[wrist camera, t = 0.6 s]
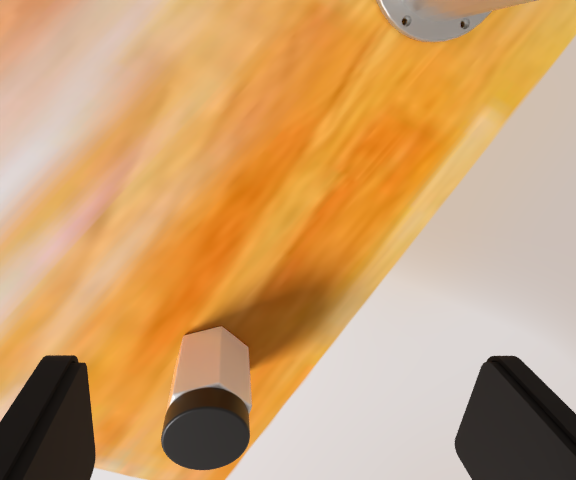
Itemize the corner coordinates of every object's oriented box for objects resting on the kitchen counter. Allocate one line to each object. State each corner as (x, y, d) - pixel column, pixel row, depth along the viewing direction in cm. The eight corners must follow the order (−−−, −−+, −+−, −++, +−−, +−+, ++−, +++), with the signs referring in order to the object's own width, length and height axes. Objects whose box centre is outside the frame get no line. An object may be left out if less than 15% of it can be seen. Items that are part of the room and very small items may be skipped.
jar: (186, 389, 49) (172, 481, 38) (164, 338, 46) (143, 422, 35) (256, 371, 49) (263, 457, 38) (240, 319, 46) (242, 397, 35)
